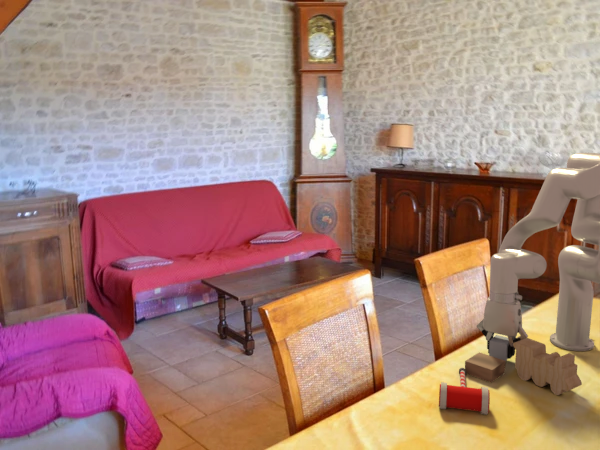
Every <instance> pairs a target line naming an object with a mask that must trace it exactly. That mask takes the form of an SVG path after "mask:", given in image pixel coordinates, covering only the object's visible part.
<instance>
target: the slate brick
mask: <svg viewBox="0 0 600 450" xmlns="http://www.w3.org/2000/svg"><path fill="white" fill-rule="evenodd" d="M508 346H509V340H508V336H504V335H499V334H496V335H494V336H493V338H492V339H491V340H490V343H489V353H488V355H489V356H492V357H495V358H498V359H502V360H505V361H508V360H509V359H508V358H507V354H508Z"/></svg>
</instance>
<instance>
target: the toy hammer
mask: <svg viewBox="0 0 600 450" xmlns="http://www.w3.org/2000/svg"><path fill="white" fill-rule="evenodd" d="M458 374H459V375H460V377H459V380H460V385H459V386H458V385H450V384H448V382H444V381H443V382H442V381H441V382H440V383H439V389H438V390H439V394H438V397H439V398H438V407H439V409H440V410H447V408H449V409H458V410H464V411H470V412H471V411H473V412H478V413H479V412H480V415H485V416H487V415H488V414H489V413H490V405H491V404H490V402H491V401H490V399H491V397H490V390H489V387H487V386H481V387H480V388H478V387H469V386H468V387H467V386H466V385H467V384H466V375H467V374H466V370H465V367H460V368H459V369H458Z"/></svg>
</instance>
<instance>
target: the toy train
mask: <svg viewBox="0 0 600 450" xmlns="http://www.w3.org/2000/svg"><path fill="white" fill-rule="evenodd" d="M513 346H514V348H515V362H514V367H515V369H516V373H517V376H518V378H520V379H521V380H523V381H529V380H530V379H531V380H532V381H533V383H534V384H535V385H536V386H538V387H541V388H542V387H545V386H547V385H550V387H549V388H550V390H551V392H552V393H553V394H554V395H555V396H556V395H557V396H560V395H561V394H562V395H563V394H564V393H566V392H569V391H572V390H574V389H575V388H578V387H581V386H582V381H581V379H580V377H579V375H578V364H576V363H575V360H576V359H575V358H576V355H575V354H573V353H570V352H569V353H566V354H563V355H561V354H560V353H559V352H558V351H557V352H556V351H555V352H552V353H548V352H547V347H546V344H545V343H542V342H540V341H537V340H535V339H531V338H529V337H527V338H526V339H523V340H520V341H517V342H515V343H513Z"/></svg>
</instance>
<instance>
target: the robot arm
mask: <svg viewBox="0 0 600 450" xmlns="http://www.w3.org/2000/svg"><path fill="white" fill-rule="evenodd" d="M572 199H573V200H577V201H576V203H575V210H574V214H573V217H572V223H571V228H570V229H571V230H570V232H571V236H572V237H573V239H575V240H577V241H579V242H583V243H586V244H590V245H594V246H599V247H598V249H595V248H592V247H587V246H583V245H577V244H572V245H567V246H565V247H563V249H562V250H560V252H559V254H558V258H557V259H558V260H557V265H558V272H559V289H558V291H559V293H558V299H557V300H558V302H557V311H556V313H557V314H556V315H557V316H556V325H555V327H556V328H555V333H552V334H550V336H549V341H550V343H551V344H553V345H554V346H556V347H558V348H561V349H563V350H567V351H573V352H574V351H576V352H587V351H591V350H593V349H594V348H595V341H594V340H593V339H592V338H590V335H591V334H590V332H591V325H592V324H591V323H592V312H593V301H594V293H595V292H594V286H593V283H595V284H599V285H600V153H599V152H597V153H596V152H577V153H574V154H571V155H570V156H569V157H568V158H567V162H566V167H557V168H553V169H551V170H550V171H549V172H548V173H547V175H546V177H545V179H544V181H543V183H542V186H541V189H540V190H539V192H538V195H537V196H536V199H535V201H534V203H533V205H532V209H530V212H529V213H528V214H527V215H526V216H524V217H523V218H521V219H520V220H519V221H518V222H517V223H515V225H513V226H512V227H511V228H510V229H509V230H508V231H507V233H506V234H505V236H504V238H503V240H502V242H501V245H500V247H499V249H498V253H494V254H493V255H492V256H491V257H490V264H489V265H490V267H489V275H490V276H489V294H488V295H489V296H488V297H487V299H486V301H485V306H484V310H483V319H482V320H481V321H480V322H479V323H477V325H476V327H477V329H478V330H479V331H480V332H481V334H482V335H483V336H484V337H485V340H486V341H487V342H486V344H487V345H486V349H487V350H488V351H487V354H489V343H490V340H491V339H492V338H493V337H494V336H495V334H496V335H500V336H504V337H507V338H508V340H509V346H508V354H507V358H508V359H507V360H509V359H511V358H512V357H514V356H516V349H515V348H514V346H513V343H515V342H517V341H520V340H523V339H526V338H529V335H528V333H527V332H526V331H525V329H524V328H523V318H522V317H523V315H522V306H521V302H520V301H522V300H523V296H522V295H520V294H519V291H518V283H519V280H520V279H536V278H539V277H541V276H542V275H543V274H544V273H545V272H546V270H547V267H548V264H547V261H546V259H545V257H544V256H543V255H541V254H540V253H538V252H534V251H531V250H528V249H523V248H522V247H523V245H524V243H525V242H526V240H527V239H528V238H530V237H532V236H533V235H534V234H535V233H538V232H541V231H545V230H548V229H551V228H555V227H557V226H559V225H560V223H561V222H562V219H563V217H564V215H565V213H566V211H567V208H568V206H569V205H570V201H571V200H572ZM518 334H519V336H518ZM517 336H518V337H517Z"/></svg>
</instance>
